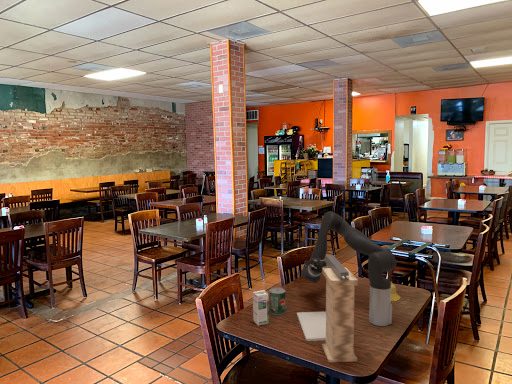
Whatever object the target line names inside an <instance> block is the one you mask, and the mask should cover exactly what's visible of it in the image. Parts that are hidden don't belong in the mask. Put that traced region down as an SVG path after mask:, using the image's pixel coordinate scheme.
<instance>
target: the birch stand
mask: <svg viewBox="0 0 512 384" xmlns="http://www.w3.org/2000/svg"><path fill="white" fill-rule="evenodd" d="M344 268H345V269H346V270H347V271H348V272H349V280H340V279H339V278H338V277H337V275H336V274H335V273H334V272H333V270H332V269H331V268H330V267H325V268H322V273H321V275H323V277H324V278H325V312H326V340H325V343H321V347H322V350H323V352H324V354H325V357H326V358H327V361H328V363H341V362H343V363H344V362H346V363H347V362H358V361H359V360H358V357H357V355H356V354H355V352H354V344H355V343H354V341H355V339H354V338H355V337H354V336H355V335H354V334H355V286H359V279H358V278H357V277H356V276H355V275H354V274H353V273H352V272H351V271H350V270H349V269H348V268H347V267H344Z"/></svg>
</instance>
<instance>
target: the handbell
mask: <svg viewBox="0 0 512 384" xmlns="http://www.w3.org/2000/svg"><path fill="white" fill-rule="evenodd" d="M389 252H390V253H392V254H393V252H391V251H389ZM392 275H393V270H391V271H387V276H386V278H387V279H389V280H390V281H391V301H397V300H399V299H400V298H401V296H400V295H399V294H398V293H397V288H396V285H395V284H394V283H393V281H392V280H393V279H392V278H393V276H392Z"/></svg>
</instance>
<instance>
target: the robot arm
mask: <svg viewBox="0 0 512 384" xmlns="http://www.w3.org/2000/svg"><path fill="white" fill-rule="evenodd" d="M320 223H321V224H320V227H319V231H318V234H317V239H316V243H315V246H314V248H313V251H312V253H311V256H310V259H309V260H308V259H305V261H304V267H302V268H301V271H300V275H301V277H302V278H303V279H305V280H307V281H309V282H311V283H314V284H316V283H318V282H320V280H321V275H322V268H329V265H328V264H327V263H326V262H325V259H326V255H327V252H328V233H329V231H330V230H331V231H333V232H336V234H338V235H340V236H341V237H342V238H343V240H344V242H345V244H347V246H349V247H350V248H351V249H352V250H354V251H356V252H358V253H359V254H363V255H366V256H368V259H367V269H368V271H367V274H368V280H369V309H368V310H369V313H368V314H369V315H368V319H369V320H368V321H369V323H371V324H372V325H373V326H379V327H387V326H390V325H393V324H392V323H393V321H392V320H393V304H392V302H391V281H390V280H389V279H387V277H384V275H383V273H386V272H387V273H388V271H391V270H392V271H393V270H395V268H396V267H397V259H396V258H395V255H394V254H393V252H392V253H390V252H391V251H389V250H388V249H385V248H384V247H382V246H381V245H379V244H378V243H376V242H374V241H373V240H372V239H371V238H369V237H368V236H367V235H365V234H364V233H363V232H362V231H360V230H359V229H357V228H355V227H354V226H352V225H350V223H348V221H346V220H345V218H343V216H341V215H340V214H337V213H336V212H333V211H326V213H325V214H324V215H323V217H322V219H321V222H320Z"/></svg>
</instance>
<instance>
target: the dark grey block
mask: <svg viewBox="0 0 512 384" xmlns="http://www.w3.org/2000/svg"><path fill="white" fill-rule="evenodd" d="M324 260H325V261H324V262H326V263H327V264H328V265H329V266H328V268H331V269H332V270H333V272H334V273H335V274H336V275H337V277H338V278H339V279H340V280H349V272H348V271H347V270H346V269H345V268H346V267H344V266H343V264H342V263H341V262H340V261H339V260H338V259H337V258H336V257H335V256H334V255H333V254H326V256H325V258H324Z"/></svg>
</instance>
